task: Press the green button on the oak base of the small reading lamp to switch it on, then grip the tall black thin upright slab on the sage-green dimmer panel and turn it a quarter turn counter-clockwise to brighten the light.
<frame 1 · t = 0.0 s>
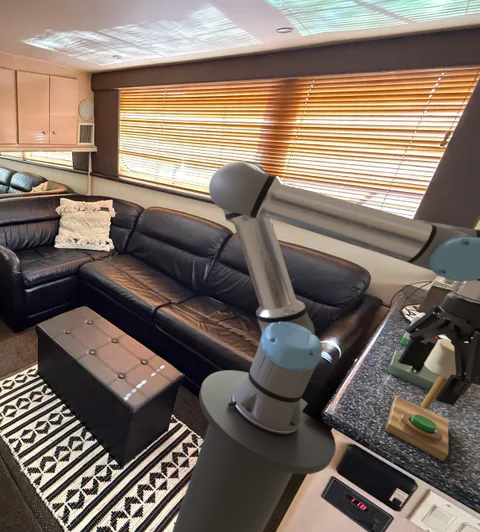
hand: (422, 381, 72), 15 cm above the counter, tool pointing down, fingers open, 13 cm apart
lamp button: (423, 423, 75), point 4 cm above the counter, slide at 0.1 cm
lamp base: (415, 428, 79), on the counter
lamp: (416, 418, 82), resting on lamp base
dimmer: (411, 373, 101), on the counter
ink box: (411, 344, 120), on the counter
black thin upright slab: (424, 352, 98), point 8 cm above the counter, hinge at 0.0°
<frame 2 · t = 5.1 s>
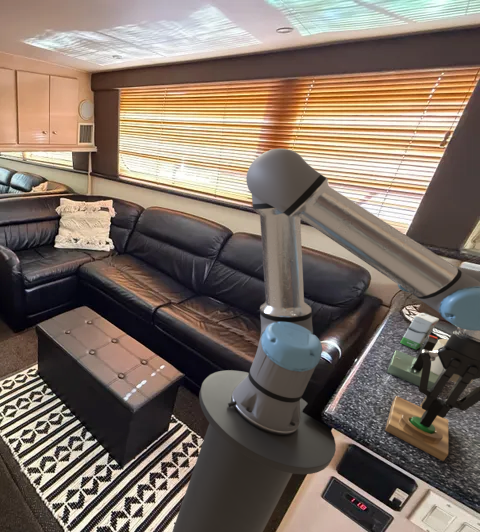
hand: (424, 422, 74), 5 cm above the counter, tool pointing down, fingers closed
lamp button: (421, 425, 75), point 4 cm above the counter, slide at -0.6 cm, touching gripper
everything else where it was.
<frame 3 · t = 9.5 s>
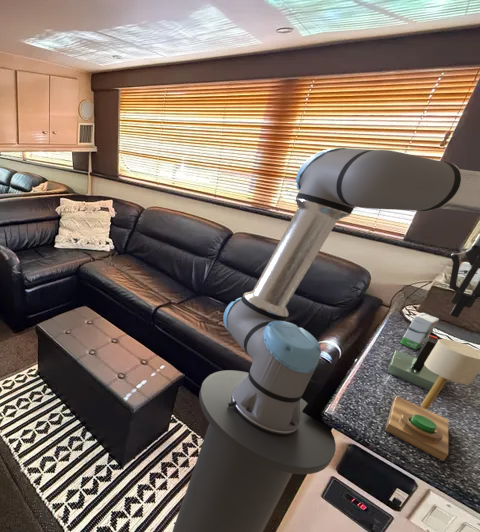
hand: (453, 315, 90), 23 cm above the counter, tool pointing down, fingers closed
lamp button: (423, 423, 75), point 4 cm above the counter, slide at 0.1 cm
everything else where it was.
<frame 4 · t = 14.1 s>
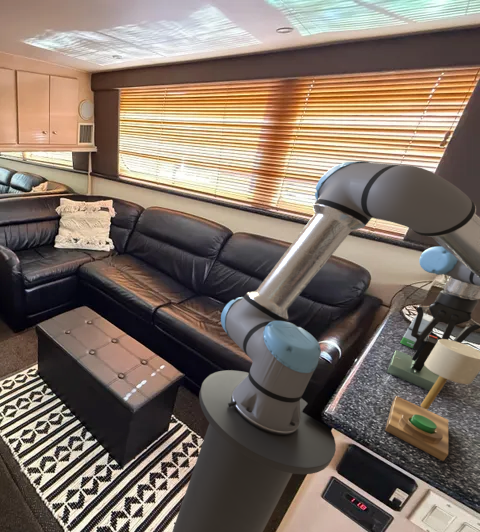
hand: (419, 361, 100), 5 cm above the counter, tool pointing down, fingers closed on black thin upright slab, 2 cm apart
black thin upright slab: (424, 352, 98), point 8 cm above the counter, hinge at 0.0°, touching gripper
everything else where it was.
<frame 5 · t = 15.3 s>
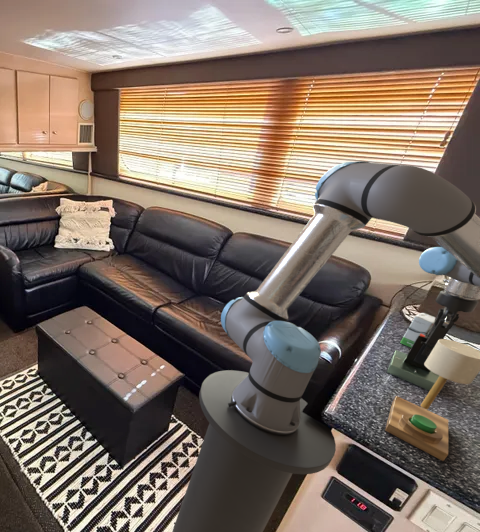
hand: (419, 361, 100), 5 cm above the counter, tool pointing down, fingers closed on black thin upright slab, 2 cm apart
black thin upright slab: (424, 352, 98), point 8 cm above the counter, hinge at 89.5°, touching gripper
everything else where it was.
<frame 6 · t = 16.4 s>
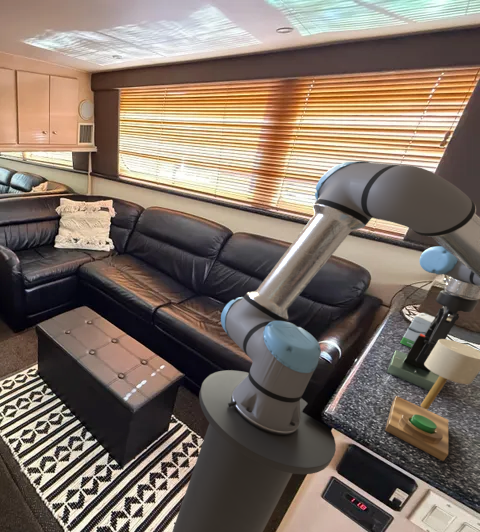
hand: (423, 355, 99), 7 cm above the counter, tool pointing down, fingers open, 13 cm apart
black thin upright slab: (424, 352, 98), point 8 cm above the counter, hinge at 89.5°
everything else where it was.
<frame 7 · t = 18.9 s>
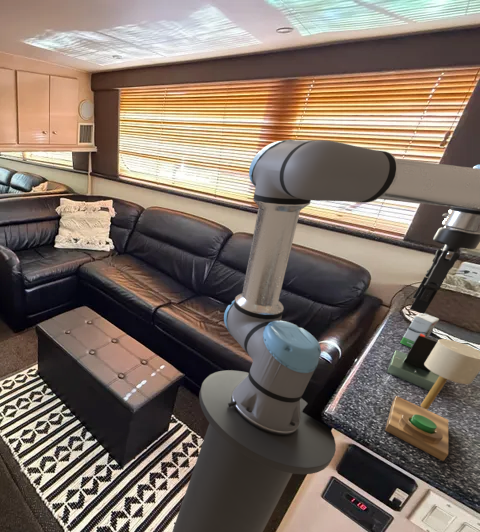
hand: (417, 305, 87), 26 cm above the counter, tool pointing down, fingers open, 13 cm apart
nothing on the counter moved.
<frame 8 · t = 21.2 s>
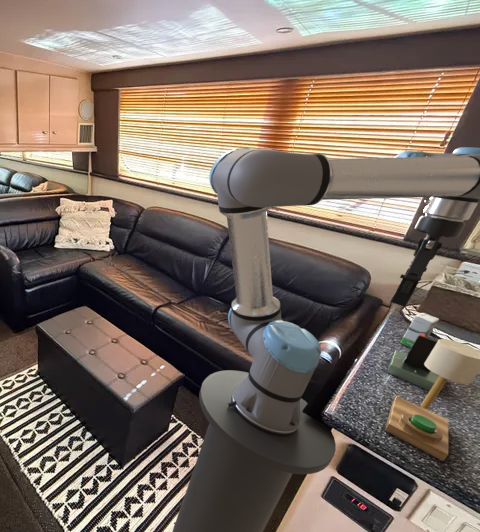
hand: (400, 297, 82), 29 cm above the counter, tool pointing down, fingers open, 13 cm apart
nothing on the counter moved.
at the end: lamp button pushed in 1.0 cm at the most during the clip, back to where it started at the end; lamp button slide at 0.1 cm; black thin upright slab at +90° (first picture: +0°) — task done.
